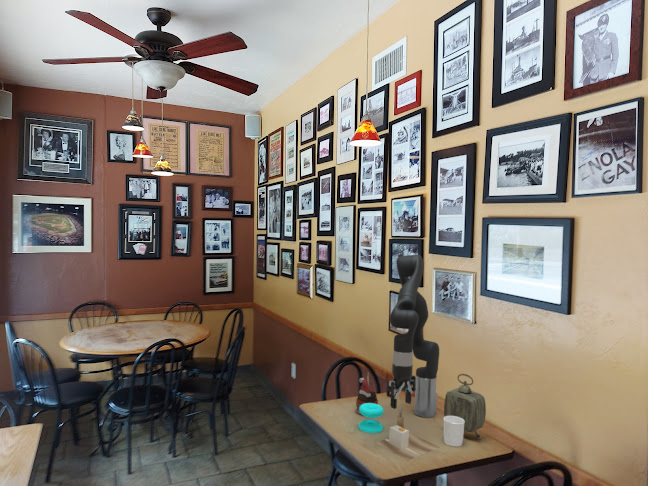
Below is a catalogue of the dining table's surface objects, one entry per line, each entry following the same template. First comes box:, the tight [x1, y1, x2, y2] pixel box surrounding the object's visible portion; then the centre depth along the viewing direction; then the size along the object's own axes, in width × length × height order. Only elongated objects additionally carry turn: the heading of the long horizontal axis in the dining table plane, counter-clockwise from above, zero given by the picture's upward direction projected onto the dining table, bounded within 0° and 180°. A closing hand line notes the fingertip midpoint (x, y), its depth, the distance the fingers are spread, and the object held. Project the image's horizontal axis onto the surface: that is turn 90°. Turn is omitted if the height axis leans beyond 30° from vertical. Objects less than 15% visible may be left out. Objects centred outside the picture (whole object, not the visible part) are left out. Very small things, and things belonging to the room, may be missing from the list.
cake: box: [355, 372, 379, 415], centre depth 199 cm, size 11×9×18 cm
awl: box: [396, 408, 405, 429], centre depth 181 cm, size 3×3×9 cm
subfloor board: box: [375, 432, 440, 461], centre depth 166 cm, size 18×16×1 cm
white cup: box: [442, 416, 465, 447], centre depth 170 cm, size 8×8×10 cm
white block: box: [388, 424, 410, 449], centre depth 165 cm, size 4×6×7 cm, turn 38°
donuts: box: [358, 403, 385, 434], centre depth 180 cm, size 10×10×10 cm
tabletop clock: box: [443, 373, 487, 439], centre depth 179 cm, size 14×9×25 cm, turn 43°
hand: (400, 405), depth 166 cm, fingers open, 8 cm apart
